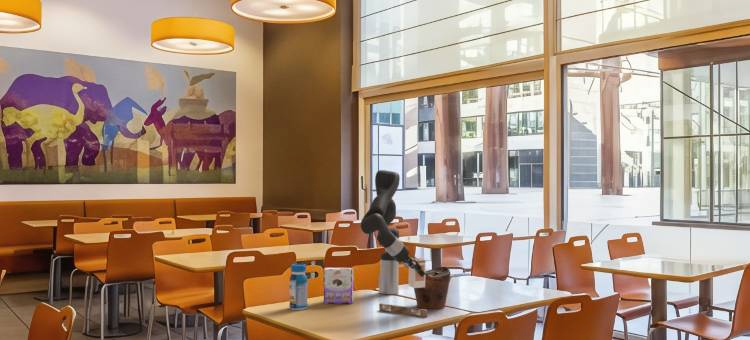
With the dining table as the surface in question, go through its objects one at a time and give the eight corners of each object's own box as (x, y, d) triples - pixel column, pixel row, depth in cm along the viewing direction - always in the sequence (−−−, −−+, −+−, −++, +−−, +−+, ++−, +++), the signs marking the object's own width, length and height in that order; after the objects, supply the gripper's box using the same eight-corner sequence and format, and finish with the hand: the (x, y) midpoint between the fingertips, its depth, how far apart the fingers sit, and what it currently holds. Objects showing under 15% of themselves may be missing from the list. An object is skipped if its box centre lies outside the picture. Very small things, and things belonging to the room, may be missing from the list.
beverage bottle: (304, 310, 289) (304, 266, 289) (286, 310, 291) (286, 265, 291) (310, 307, 297) (310, 263, 298) (292, 306, 299) (292, 263, 299)
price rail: (379, 310, 290) (379, 304, 290) (380, 310, 291) (380, 303, 291) (425, 317, 276) (425, 310, 276) (427, 316, 277) (427, 309, 277)
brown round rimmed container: (403, 308, 294) (404, 268, 294) (421, 300, 312) (421, 263, 312) (439, 312, 286) (440, 272, 286) (455, 305, 304) (456, 267, 304)
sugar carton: (414, 288, 284) (414, 261, 283) (408, 285, 289) (408, 258, 288) (425, 287, 286) (425, 260, 286) (419, 284, 291) (419, 258, 291)
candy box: (353, 301, 310) (353, 267, 310) (352, 304, 304) (352, 269, 304) (325, 301, 311) (325, 266, 311) (323, 303, 305) (323, 268, 306)
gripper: (409, 245, 277) (433, 270, 282) (395, 240, 290) (418, 264, 296) (398, 258, 275) (422, 283, 281) (384, 252, 288) (407, 277, 294)
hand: (420, 273), depth 288 cm, fingers closed on sugar carton, 5 cm apart
